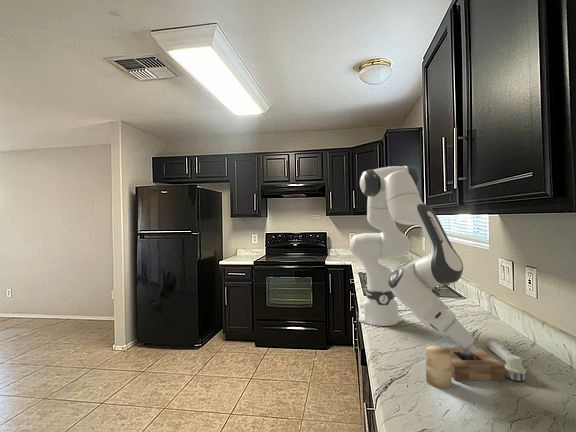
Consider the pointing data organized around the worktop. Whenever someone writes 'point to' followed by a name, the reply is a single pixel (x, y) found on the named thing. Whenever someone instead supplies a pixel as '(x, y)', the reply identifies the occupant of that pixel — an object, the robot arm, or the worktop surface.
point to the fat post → (438, 366)
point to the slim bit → (466, 354)
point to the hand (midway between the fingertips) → (465, 344)
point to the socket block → (475, 366)
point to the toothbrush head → (508, 360)
